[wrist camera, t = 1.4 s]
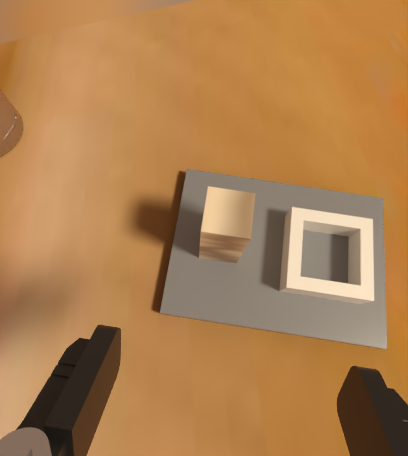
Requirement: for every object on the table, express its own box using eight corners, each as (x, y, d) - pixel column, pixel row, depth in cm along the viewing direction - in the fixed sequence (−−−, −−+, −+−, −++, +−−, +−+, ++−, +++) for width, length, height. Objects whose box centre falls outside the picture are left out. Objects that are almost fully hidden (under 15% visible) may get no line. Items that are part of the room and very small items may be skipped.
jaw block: (198, 257, 38) (200, 231, 29) (204, 222, 39) (208, 186, 30) (236, 263, 38) (250, 239, 29) (240, 228, 39) (255, 193, 30)
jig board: (160, 313, 37) (156, 310, 33) (187, 174, 43) (186, 156, 39) (379, 348, 37) (403, 349, 33) (376, 202, 43) (397, 187, 38)
